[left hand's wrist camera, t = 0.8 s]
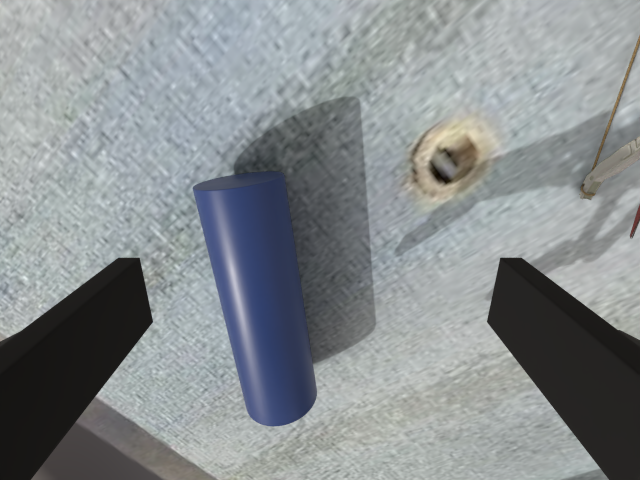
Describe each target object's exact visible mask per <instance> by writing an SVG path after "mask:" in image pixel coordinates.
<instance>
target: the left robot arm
mask: <svg viewBox="0 0 640 480" xmlns="http://www.w3.org/2000/svg"><path fill="white" fill-rule="evenodd" d="M152 322H153V320H152V315H151V310H150V305H149V301H148V296H147V291H146V286H145V281H144V277H143V272H142V267H141V262H140V258H118V259H116V260H115V261H114V262H112V263H111V264H110V265H108V266H107V267H106V268H104V269H103V270H102V271H100V272H99V273H98V274H96V275H95V276H94V277H92V278H91V279H90V280H88V281H87V282H86V283H84V284H83V285H82V286H80V287H79V288H78V289H76V290H75V291H74V292H72V293H71V294H70V295H68V296H67V297H66V298H64V299H63V300H62V301H60V302H59V303H58V304H56V305H55V306H54V307H52V308H51V309H50V310H48V311H47V312H46V313H44V314H43V315H42V316H40V317H39V318H38V319H36V320H35V321H34V322H32V323H31V324H30V325H29V326H27V327H26V328H25V329H23V330H22V331H20V332H18V333H16V334H14V335H12V336H11V337H9V338H7V339H5V340H3V341H1V342H0V480H31V479H32V477H33V476H34V475H35V473H36V472H37V471H38V470H39V468H40V467H41V466H42V464H43V463H44V462H45V461H46V459H47V458H48V457H49V455H50V454H51V453H52V452H53V450H54V449H55V448H56V446H57V445H58V444H59V443H60V441H61V440H62V439H63V437H64V436H65V435H66V433H67V432H68V431H69V430H70V428H71V427H72V426H73V424H74V423H75V422H76V421H77V419H78V418H79V417H80V415H81V414H82V413H83V412H84V410H85V409H86V408H87V406H88V405H89V404H90V402H91V401H92V400H93V399H94V397H95V396H96V395H97V393H98V392H99V391H100V390H101V388H102V387H103V386H104V384H105V383H106V382H107V381H108V379H109V378H110V377H111V375H112V374H113V373H114V372H115V370H116V369H117V368H118V366H119V365H120V364H121V362H122V361H123V360H124V359H125V357H126V356H127V355H128V353H129V352H130V351H131V350H132V348H133V347H134V346H135V344H136V343H137V342H138V341H139V339H140V338H141V337H142V335H143V334H144V333H145V331H146V330H147V329H148V328H149V326H150V325H151V324H152ZM487 322H488V324H489V325H490V326H491V328H492V329H493V330H494V331H495V333H496V334H497V335H498V337H499V338H500V339H501V341H502V342H503V343H504V344H505V346H506V347H507V348H508V350H509V351H510V352H511V353H512V355H513V356H514V357H515V359H516V360H517V361H518V362H519V364H520V365H521V366H522V368H523V369H524V370H525V372H526V373H527V374H528V375H529V377H530V378H531V379H532V381H533V382H534V383H535V384H536V386H537V387H538V388H539V390H540V391H541V392H542V393H543V395H544V396H545V397H546V399H547V400H548V401H549V402H550V404H551V405H552V406H553V408H554V409H555V410H556V412H557V413H558V414H559V415H560V417H561V418H562V419H563V421H564V422H565V423H566V424H567V426H568V427H569V428H570V430H571V431H572V432H573V433H574V435H575V436H576V437H577V439H578V440H579V441H580V443H581V444H582V445H583V446H584V448H585V449H586V450H587V452H588V453H589V454H590V455H591V457H592V458H593V459H594V461H595V462H596V463H597V464H598V466H599V467H600V468H601V470H602V471H603V472H604V473H605V475H606V476H607V477H608V479H609V480H640V340H638V339H636V338H634V337H632V336H630V335H628V334H626V333H624V332H623V331H621V330H617V329H615V328H614V327H613V326H611V325H610V324H609V323H608V322H606V321H605V320H604V319H602V318H601V317H600V316H598V315H597V314H596V313H594V312H593V311H592V310H590V309H589V308H588V307H586V306H585V305H584V304H582V303H581V302H580V301H578V300H577V299H576V298H574V297H573V296H572V295H570V294H569V293H568V292H566V291H565V290H564V289H562V288H561V287H560V286H558V285H557V284H556V283H554V282H553V281H552V280H550V279H549V278H548V277H546V276H545V275H544V274H542V273H541V272H540V271H538V270H537V269H536V268H534V267H533V266H532V265H530V264H529V263H528V262H526V261H525V260H524V259H522V258H500V262H499V267H498V272H497V277H496V281H495V286H494V291H493V296H492V301H491V305H490V310H489V315H488V320H487Z"/></svg>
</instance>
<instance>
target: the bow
mask: <svg viewBox="0 0 640 480" xmlns="http://www.w3.org/2000/svg"><path fill="white" fill-rule="evenodd" d="M639 43H640V36H639V39H638V41H637V44H636V47H635V50H634V53H633V56H632V58H631V61H630V64H629V67H628V70H627V72H626V75H625V78H624V81H623V84H622V86H621V89H620V92H619V95H618V98H617V101H616V103H615V106H614V109H613V112H612V115H611V117H610V120H609V123H608V126H607V129H606V132H605V134H604V137H603V140H602V143H601V146H600V148H599V151H598V154H597V157H596V160H595V163H594V165H593V168H592V171H591V172H590V173H589V174H588V176H586V178H585V180H584V182H583V184H582V186H581V192H580V194H579V195H580V198H581V199H583V198H584V199H589V200H591V198H592V196H594V195H595V193H596V191H597V189H598V188H599V186H600V185H601V183H602V182H603V181H604V180H605V179H607V178H609V177H611V176H614V175H616V174H618V173H620V172H621V171H623V170H624V169H626V168H627V167H629V166H630V165H631V164H633V163H634V162H636V161H637V160H638V159H640V137H638V138H637V139H635V140H633V141H631V142H630V143H628V144H627V145H625V146H623V147H622V148H620V149H619V150H618V151H616V152H615V153H614V154H613V155H611V156H610V157H608V158H607V159H605V160H603V161H602V162H601V163H600V164H599V165H597V166H596V164H597V161H598V158H599V155H600V152H601V150H602V147H603V144H604V141H605V138H606V136H607V133H608V130H609V127H610V124H611V122H612V119H613V116H614V113H615V110H616V108H617V105H618V102H619V99H620V96H621V94H622V91H623V88H624V85H625V82H626V80H627V77H628V74H629V71H630V68H631V66H632V63H633V60H634V57H635V54H636V52H637V49H638V46H639ZM595 166H596V167H595ZM639 221H640V205H639V208H638V211H637V214H636V217H635V221H634V224H633V227H632V230H631V234H630V239H631V237H632V238H633V236H634V234H635V231H636V229H637V226H638V224H639ZM634 230H635V231H634ZM633 232H634V233H633ZM632 234H633V236H632Z"/></svg>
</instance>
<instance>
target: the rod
mask: <svg viewBox="0 0 640 480" xmlns="http://www.w3.org/2000/svg"><path fill="white" fill-rule="evenodd" d="M193 191H194V196H195V200H196V204H197V208H198V212H199V216H200V220H201V224H202V228H203V232H204V236H205V241H206V245H207V249H208V253H209V257H210V261H211V265H212V269H213V273H214V277H215V281H216V286H217V290H218V294H219V298H220V302H221V306H222V310H223V314H224V318H225V322H226V326H227V331H228V335H229V339H230V343H231V347H232V351H233V355H234V359H235V363H236V367H237V371H238V376H239V380H240V384H241V388H242V392H243V396H244V400H245V404H246V408H247V411H248V414H249V415H250V417H251V418H252V419H253V420H255V421H256V422H258V423H260V424H262V425H266V426H282V425H286V424H290V423H292V422H294V421H296V420H298V419H300V418H301V417H303V416H304V415H305V414H306V413H307V412H308V411H309V410H310V409H311V408H312V406H313V404H314V402H315V400H316V396H317V388H316V382H315V375H314V369H313V362H312V355H311V349H310V342H309V335H308V329H307V322H306V316H305V309H304V302H303V296H302V289H301V283H300V276H299V269H298V263H297V256H296V249H295V243H294V236H293V230H292V223H291V216H290V210H289V203H288V197H287V190H286V183H285V177H284V173H282V172H275V171H266V172H252V173H244V174H237V175H231V176H225V177H220V178H216V179H212V180H208V181H205V182H202V183H199V184H197V185H195V186H194V187H193Z"/></svg>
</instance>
